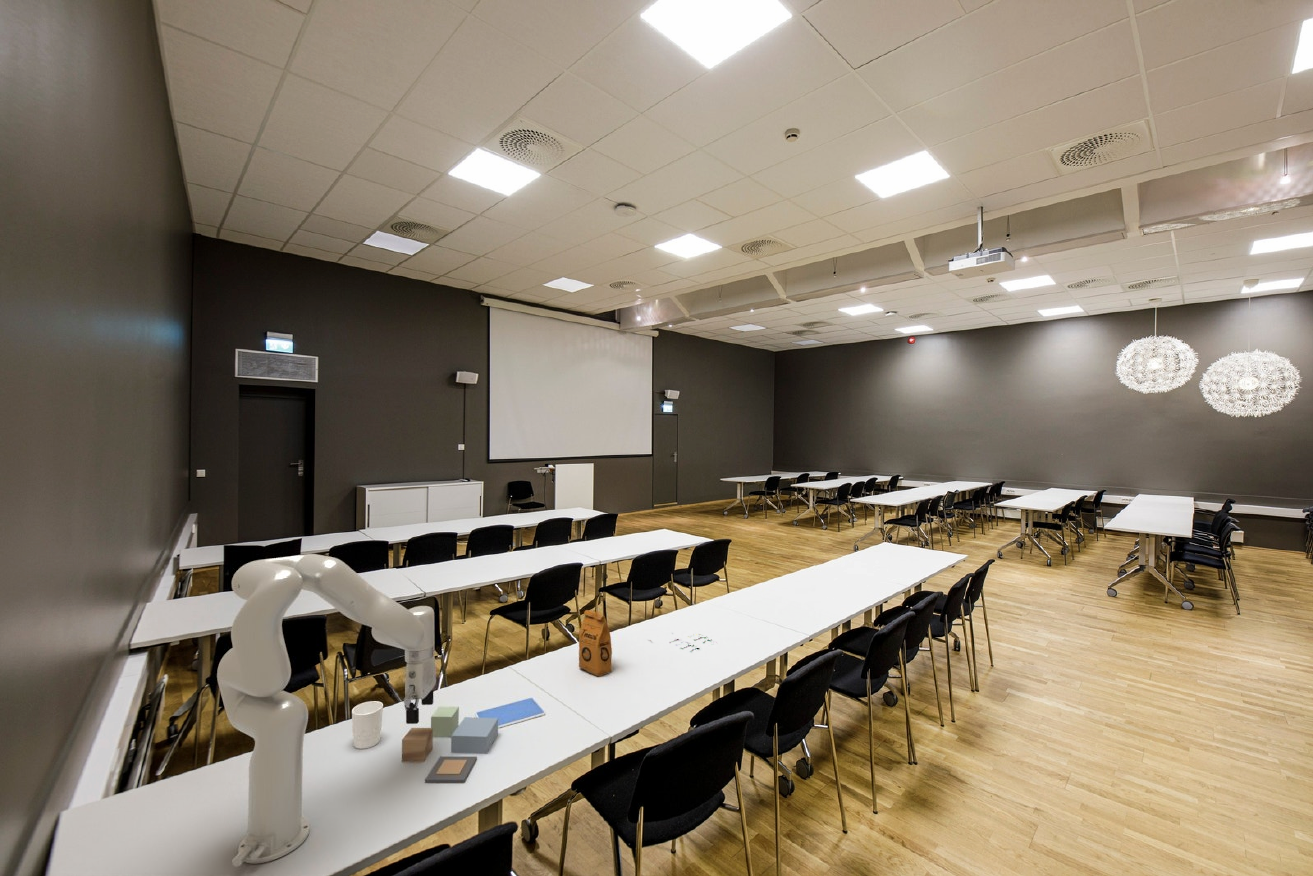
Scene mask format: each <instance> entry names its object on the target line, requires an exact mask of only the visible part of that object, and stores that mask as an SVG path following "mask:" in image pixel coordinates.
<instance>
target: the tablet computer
mask: <svg viewBox="0 0 1313 876" xmlns="http://www.w3.org/2000/svg"><path fill="white" fill-rule="evenodd" d="M545 715H546V712H545V710H544V709H543V708H542V707H541V706H540V704H539V703H538V702H537V701H536V700H535V698H534V697H529V698H524V699H522V700H518V701H514V702H511V703H506V704H503V705H499V706H495V707H491V708H487V709H484V710H481V711H477V712H475V714H474V716H475V717H476V718H498V729H502V728H505V727H507V726H512V725H515V724H518V723H521V722H525V721H528V720H532V719H536V718H539V717H542V716H545Z"/></svg>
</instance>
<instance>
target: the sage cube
mask: <svg viewBox="0 0 1313 876" xmlns="http://www.w3.org/2000/svg"><path fill="white" fill-rule="evenodd" d="M459 711H460V707H459V706H438V707H437V708H436V709H435V711H434V712H433V714H432V715H431V716H430V728H433V738H451V736H452V734H453V733H454V731H455V730H456V729H457V727H458V726H459V719H460V718H459V717H460V716H459V715H460V713H459Z"/></svg>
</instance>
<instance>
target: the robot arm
mask: <svg viewBox="0 0 1313 876" xmlns="http://www.w3.org/2000/svg"><path fill="white" fill-rule="evenodd" d="M231 589H232V591H233V593H234V594H235V595H236V596H237V597H239V598H241V599H242V600H245V602H244V604H243V605H242V607H241V608H240V610H239V611H238V613H236V616H235V619H234V620H233V622H232V625H231V631H230V639H231V643H232V648H230V649H229V650H228V651H227V652H226V653H225V654H224V655H223V656H222V658H221V659H220V661H219V664H218V667H217V673H216V678H217V684H218V687H219V690H220V691H219V692H220V695H221V698H222V702H223V706H224V709H225V713H226V716H227V719H228V721H229V722H230V725H232V727H233V728H234V729H236V730H237V731H240V732H241V733H243V734H246V735H247V736H249V737H251V738H253V740H254V748H253V751H252V753H251V756H250V759H249V766H248V797H247V798H248V803H247V804H248V808H247V810H248V811H247V813H248V815H247V835H246V836H245V837H243V839H242V841H240V842H239V845H238V849H237V852H238V853H237V854H236V855H235V856H234V857H233V858H232V860H231V864H232V866H233V867H240V866H241V865H242V864H243V863H247V864H263V863H267V862H271V861H274V860H276V859H280V858H281V857H284V856H286V855H287V854H289V853H291V852H293V851H294V850H295V849H297V848H299V847H300V846H301V845H302V844H303V843H304V842H305V841H306V839H307V837H308V836H309V834H310V830H311V824H310V821H309V820H308V819H307V818H305V817H303V816H302V815H303V814H302V812H303V770H304V769H303V767H304V766H303V765H304V764H303V759H304V756H303V753H304V740H305V734H306V731H307V730H306V729H307V725H308V721H309V720H308V719H309V710H308V709H309V708H308V707H307V705H306V703H305V702H304V701H303V700H302V698H300V697H298V696H296V695H295V694H292V693H290V692H288V691H285V690H284V689H285V688H286V686H288V683H290V679H291V675H292V668H291V662H290V657H289V654H288V650H287V647H286V643H285V638H284V634H283V626H282V625H283V619H284V616H285V614H286V613H287V611H288V609H290V607H291V606H292V605H293V603H294V602H295V601H296V600H297V598H298V597H299V596H300V594H301V592H302V590H303V591H308V592H311V593H314V595H315V594H316V595H317V596H319V597H320V598H321V599H323V600H324V601H325V602H326V603H328V604H329V605H331V606H332V607H333V608H334V609H336V610H337V611H338V612H339V613H341V614H342V615H343V616H345V617H347V618H348V619H350V620H352V621H354V622H357V623H359V624H361V625H364V626H367V627H370V628H371V635H372V638H373V639H374V640H375V641H376V642H378V643H380V644H383V645H387V646H391V647H395V648H399V649H400V650H401V649H402V650H404V661H405V662H406V670H405V679H404V680H405V681H404V683H405V684H404V687H405V688H404V689H405V691H404V695H405V697H404V698H403V703H404V708H405V723H406V724H407V725H413V724H414V725H417V724H418V723H419V722H420V709H419V707H418V706H419V702H420V701H421V702H420V703H421V705H422V706H430V705H431V706H432V705H433V704H434V689H435V686H436V684H437V670H436V659H435V611H434V608H433V607H431V606H428V605H418V606H414V607H412V608H411V607H410V608H409V609H408V608H406V607H405V606H403V605H402V604H400V602H399V603H398V602H397V601H396V600H394V599H392V598H390V597H389V596H387V595H386V594H385V593H383V592H382V591H379V590H378V589H376V588H375V587H373V585H371V584H370V583H369V582H367V581H366V580H365V579H364V578H363V577H361V576H360V575H359V574H358V573H357V572H356V571H355V570H354V569H352V568H351V567H350V566H349V565H348V564H346V563H345V562H344V561H343V560H341V559H339V558H337V557H332V556H329V555H328V556H327V555H321V554H317V553H307V554H298V555H291V556H283V557H282V556H280V557H276V558H275V557H274V558H265V559H257V560H253V561H250V562H248V563H245V564H243V565H242V566H240V567H239V568H238V570H236V572H234V574H233V577H232V579H231ZM412 701H414V703H413V702H412Z"/></svg>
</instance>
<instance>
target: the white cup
mask: <svg viewBox="0 0 1313 876" xmlns="http://www.w3.org/2000/svg"><path fill="white" fill-rule="evenodd" d="M383 710H384V704H383V702H381V701H378V700H377V701H375V700H374V701H372V700H370V701H365V702H362V703H358V704H357V705H356V706H354V707H353V708H352V709H351V719H352V720H351V723H352V726H351V727H352V737H353V747H354V748H355V749H359V750H363V749H369V748H372V747H374V746H375V745H378V743H379V742H380V741H381V732H382V725H383V712H384V711H383Z"/></svg>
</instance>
